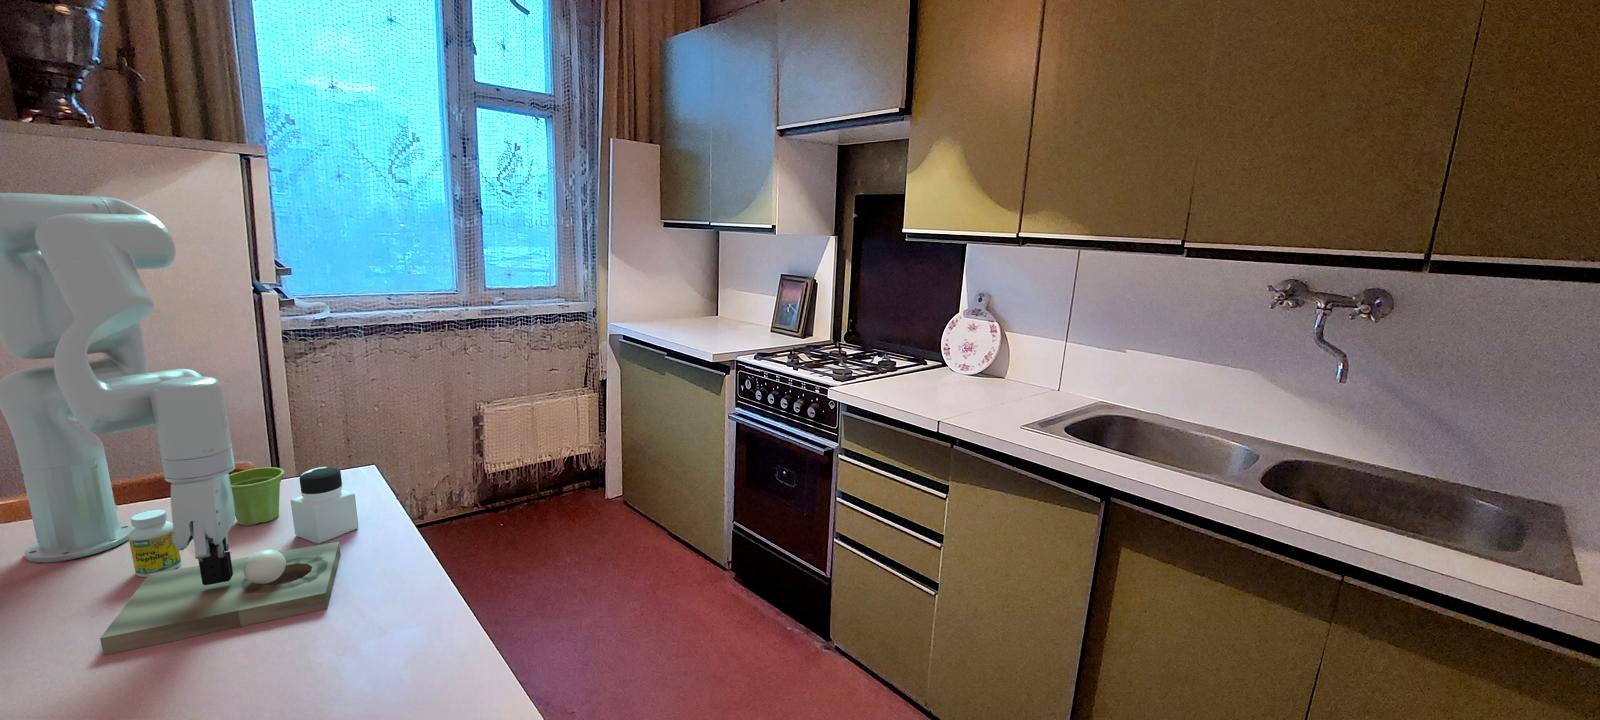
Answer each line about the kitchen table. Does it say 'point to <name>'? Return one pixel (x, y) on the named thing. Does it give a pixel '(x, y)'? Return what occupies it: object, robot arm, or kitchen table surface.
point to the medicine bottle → (323, 506)
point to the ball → (264, 566)
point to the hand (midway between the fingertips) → (218, 580)
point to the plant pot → (256, 494)
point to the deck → (221, 600)
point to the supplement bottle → (153, 543)
